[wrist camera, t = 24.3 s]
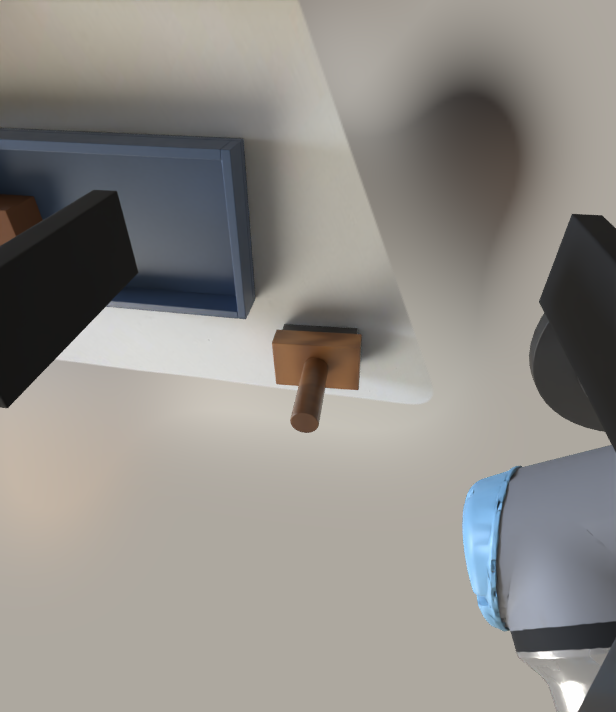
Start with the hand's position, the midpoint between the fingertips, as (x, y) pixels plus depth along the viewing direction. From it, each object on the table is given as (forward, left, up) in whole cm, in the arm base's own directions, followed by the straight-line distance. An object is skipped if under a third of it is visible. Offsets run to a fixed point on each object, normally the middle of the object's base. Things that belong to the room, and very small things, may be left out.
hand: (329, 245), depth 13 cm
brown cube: (+33, +11, -26) cm, 43 cm away
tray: (+23, +11, -27) cm, 37 cm away
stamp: (+3, +24, -27) cm, 36 cm away
